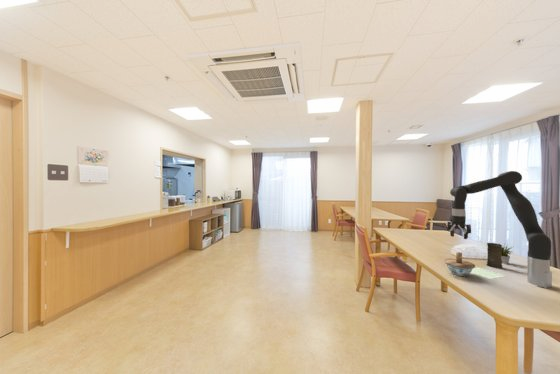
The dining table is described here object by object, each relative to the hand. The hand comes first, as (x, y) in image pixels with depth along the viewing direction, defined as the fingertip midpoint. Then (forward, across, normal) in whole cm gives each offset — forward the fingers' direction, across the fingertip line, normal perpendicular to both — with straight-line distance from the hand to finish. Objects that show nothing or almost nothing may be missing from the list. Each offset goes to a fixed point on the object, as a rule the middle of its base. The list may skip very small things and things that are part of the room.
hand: (458, 237), depth 153 cm
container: (+27, +2, -42) cm, 50 cm away
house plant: (+27, +7, -60) cm, 66 cm away
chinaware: (+27, 0, 0) cm, 27 cm away
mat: (+27, -4, -19) cm, 33 cm away
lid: (+19, 0, 0) cm, 19 cm away
